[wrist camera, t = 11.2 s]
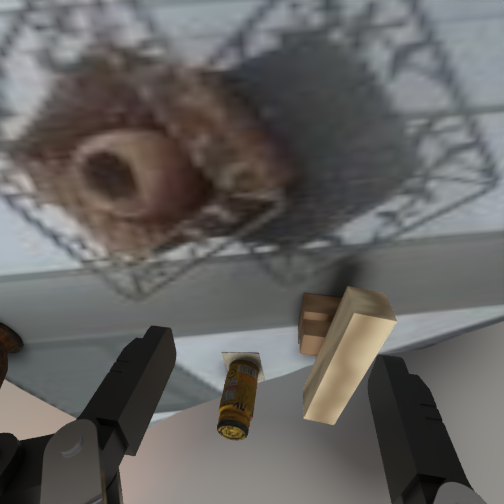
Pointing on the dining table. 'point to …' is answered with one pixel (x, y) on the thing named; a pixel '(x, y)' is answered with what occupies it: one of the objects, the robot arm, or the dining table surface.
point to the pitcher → (7, 348)
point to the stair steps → (315, 321)
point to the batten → (347, 352)
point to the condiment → (239, 394)
